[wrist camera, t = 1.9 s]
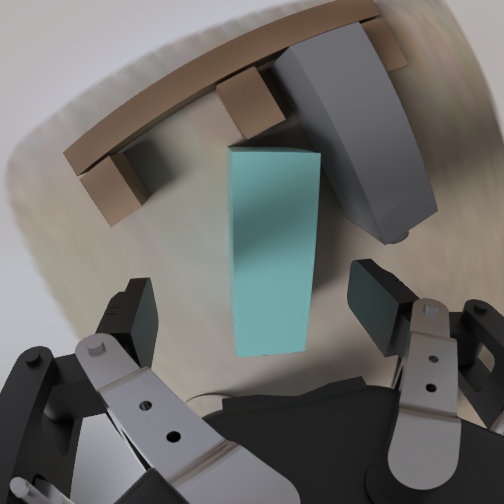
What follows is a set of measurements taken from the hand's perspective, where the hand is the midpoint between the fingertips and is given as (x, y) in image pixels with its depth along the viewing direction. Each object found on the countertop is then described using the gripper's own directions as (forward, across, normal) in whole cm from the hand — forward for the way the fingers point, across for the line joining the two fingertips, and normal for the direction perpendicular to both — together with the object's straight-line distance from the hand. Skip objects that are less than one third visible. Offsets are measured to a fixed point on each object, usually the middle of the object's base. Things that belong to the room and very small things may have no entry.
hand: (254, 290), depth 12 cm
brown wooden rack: (+7, 0, -8) cm, 10 cm away
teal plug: (+7, -1, 0) cm, 7 cm away
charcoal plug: (+7, -6, -6) cm, 11 cm away
